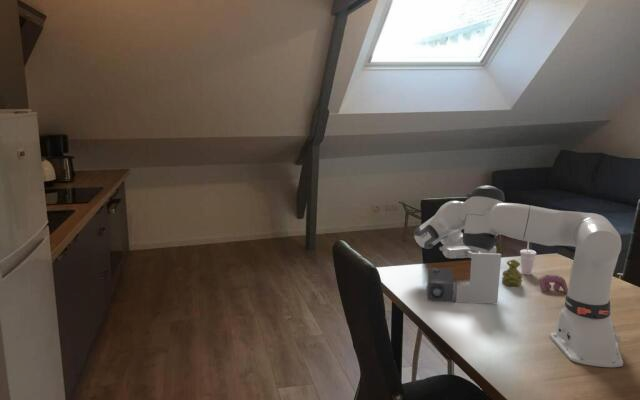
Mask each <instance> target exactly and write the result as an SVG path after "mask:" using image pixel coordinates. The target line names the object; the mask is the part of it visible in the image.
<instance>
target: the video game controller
mask: <svg viewBox="0 0 640 400" xmlns="http://www.w3.org/2000/svg"><path fill="white" fill-rule="evenodd" d="M538 283H539V287H540V290H541V292H543V293H545V292H546V290H547V291H548V290H551V289H552V288H553V290H555V291H559V290H560V289H561V288H562V290H563V292H564V293H565V294H567V293H568V285H567V282H566V280H565V278H563V276H561V275H557V274H547V275H542V276H540V277H539V279H538ZM551 283H552V284H553V283H554V284H553V285H552V284H551Z"/></svg>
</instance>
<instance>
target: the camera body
mask: <svg viewBox="0 0 640 400" xmlns="http://www.w3.org/2000/svg"><path fill="white" fill-rule="evenodd" d="M453 276H454V275H453V269H452V268H443V267H442V268H441V267H430V266H429V267H428V268H427V288H426V290H427V295H426V296H427V299H426V300H427V301H433V300H435V302H448V303H454V302H453V293H454V283H455V282H454V278H453Z"/></svg>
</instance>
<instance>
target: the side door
mask: <svg viewBox="0 0 640 400" xmlns="http://www.w3.org/2000/svg"><path fill="white" fill-rule="evenodd" d="M470 259H471V261H470V275H469V284H465V283H457V282H453V283H454V286H453V302H452V303H474V304H475V303H479V304H498V299H499V287H500V275H501V274H500V272H501V262H502V254H501V253H496V254H492V253H472V258H470Z"/></svg>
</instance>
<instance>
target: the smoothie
mask: <svg viewBox="0 0 640 400" xmlns="http://www.w3.org/2000/svg"><path fill="white" fill-rule="evenodd" d="M526 246H527V247H526V248H524V249H521V250H520V251H519V254H520V260H521V261H520V266H521V274H522V275H527V276H530V275H531V274H532V271H533V268H534V267H533V266H534V263H535V259H536V256H537V252H536V251H535V250H533V249H530V248H529V247H530V242H527V244H526Z"/></svg>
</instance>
